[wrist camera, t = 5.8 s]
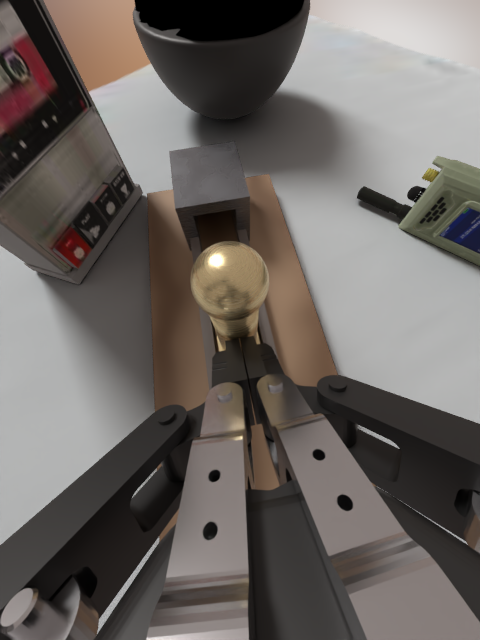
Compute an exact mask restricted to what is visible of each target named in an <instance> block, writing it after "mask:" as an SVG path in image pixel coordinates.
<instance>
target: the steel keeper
mask: <svg viewBox="0 0 480 640" xmlns="http://www.w3.org/2000/svg"><path fill="white" fill-rule="evenodd" d="M169 153H170V163H171V173H172V183H173V193H174V203H175V210H176V213H177V216H178V218H179V221H180V224H181V227H182V230H183V232H184V235H185V238H186V241H187V244H188V246H189V249H190V251H191V250H192V249H191V241H190V238H196V237H199V239H200V243H201V238H200V231H199V224H198V218H197V216H198V215H204V214H210V213H216V212H222V211H228V210H231V214H232V218H233V222H234V227H235V231H236V236H237V240H238V234H237V230H243V229H246V232H247V236H248V240H249V241H250V194H249V191H248V187H247V184H246V180H245V176H244V173H243V169H242V166H241V162H240V159H239V155H238V151H237V148H236V144H235V141H233V142H226V143H220V144H214V145H207V146H201V147H194V148H188V149H181V150H175V151H169ZM201 247H202V245H201Z"/></svg>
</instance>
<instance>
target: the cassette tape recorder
mask: <svg viewBox="0 0 480 640" xmlns="http://www.w3.org/2000/svg"><path fill="white" fill-rule="evenodd" d="M142 194H143V192H142V190H141V188H140V185H139V184H135V183H133V181H132V179H131V177H130V175H129V173H128V171H127V169H126V167H125V165H124V163H123V161H122V159H121V157H120V155H119V153H118V151H117V149H116V147H115V145H114V143H113V141H112V139H111V137H110V135H109V133H108V131H107V129H106V127H105V125H104V123H103V121H102V119H101V117H100V115H99V113H98V110H97V108H96V106H95V104H94V102H93V100H92V98H91V96H90V94H89V92H88V90H87V88H86V86H85V85H84V82H83V80H82V78H81V76H80V74H79V72H78V70H77V68H76V66H75V64H74V62H73V60H72V58H71V56H70V54H69V52H68V50H67V48H66V46H65V44H64V42H63V40H62V38H61V36H60V34H59V32H58V30H57V28H56V26H55V24H54V22H53V20H52V17H51V15H50V14H49V11H48V10H47V8H46V5H45V3H44V1H43V0H0V245H1V246H2V247H4V248H5V249H6V250H8V251H9V252H11V253H12V254H14V255H15V256H17V257H18V258H19V259H21V260H22V261H24V262H25V263H24V264H25V265H26V266H28V267H29V268H31V269H32V270H34V271H37V272H40V273H43V274H47V275H50V276H53V277H56V278H59V279H62V280H66V281H69V282H72V283H75V284H78V285H79V284H80V283H81V281H82V280H83V279H84V277H85V276H86V274H87V273H88V271H89V270H90V268H91V267H92V266H93V264H94V263H95V261H96V260H97V258H98V257H99V255H100V254H101V253H102V251H103V250H104V248H105V247H106V245H107V244H108V242H109V241H110V240H111V238H112V237H113V235H114V234H115V232H116V231H117V230H118V228H119V227H120V225H121V224H122V222H123V221H124V219H125V218H126V217H127V215H128V214H129V212H130V211H131V209H132V208H133V206H134V205H135V204H136V202H137V201H138V199H139V198H140V197H141V195H142Z"/></svg>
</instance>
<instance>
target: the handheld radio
mask: <svg viewBox="0 0 480 640" xmlns="http://www.w3.org/2000/svg"><path fill="white" fill-rule="evenodd" d="M433 164H434V165H436V166H437V167H439V168H441V169H442V170H441V171H440V172H439V171H436V170H435V171H434V169H432V170H431V168H430V169H428V170H427V171H426V173H425V174H424V175H423V177H422V178H423V179H425V180H427V181H430V182H432V183H431V184H430V185H429V186H428V188H427V189H425V188H421V187H419V186H415V187H413V188H411V189H410V190H409V192H408V194H407V197H408V199H410V200H412V201H414V202H415V205H414V206H413V207H410V206H408V205H406V204H405V205H402V204H400V203H398V202H396V201H395V200H393V199H391V198H388V197H386V196H384V195H382V194H380V193H378V192H375V191H373V190H371V189H369V188H367V187H365V186H364V187H363V188H361V189H360V191H359V192H358V195H357V198H358V199H360V200H362V201H364V202H366V203H369V204H371V205H373V206H375V207H377V208H379V209H382V210H384V211H386V212H388V213H389V212H391V213H394V214H396V215H397V217H399V218H401V219H403V220H402V222H401V223H400V224H399V228H400V229H402V230H404V231H406V232H409V233H411V234H413V235H415V236H417V237H419V238H421V239H423V240H425V241H428V242H430V243H432V244H434V245H436V246H438V247H440V248H442V249H445V250H447V251H449V252H451V253H453V254H455V255H457V256H459V257H461V258H464V259H466V260H468V261H470V262H472V263H474V264H476V265H478V266H480V169H479V168H476V167H473V166H470V165H468V164H465V163H462V162H459V161H457V160H450V159H447V158H444V157H440V156H437V157H436V158H435V159H434V161H433ZM420 191H421V193H420ZM418 194H420V195H418ZM415 198H416V199H415ZM414 199H415V200H414ZM417 200H418V201H417Z"/></svg>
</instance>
